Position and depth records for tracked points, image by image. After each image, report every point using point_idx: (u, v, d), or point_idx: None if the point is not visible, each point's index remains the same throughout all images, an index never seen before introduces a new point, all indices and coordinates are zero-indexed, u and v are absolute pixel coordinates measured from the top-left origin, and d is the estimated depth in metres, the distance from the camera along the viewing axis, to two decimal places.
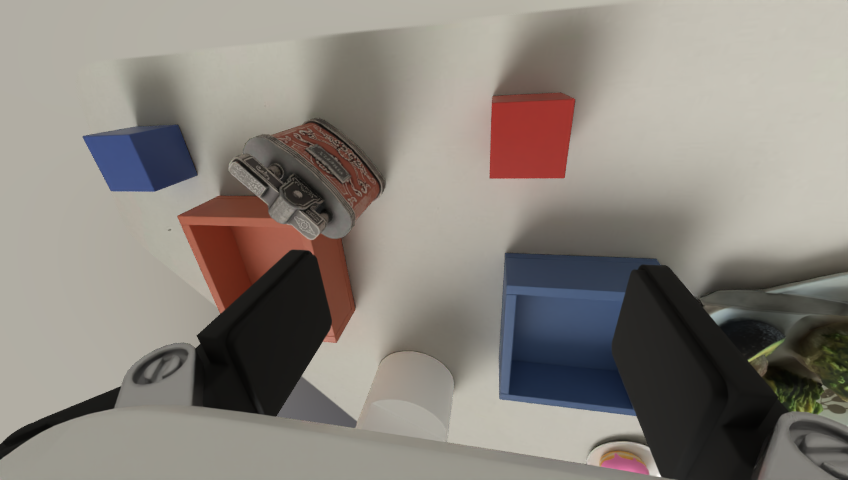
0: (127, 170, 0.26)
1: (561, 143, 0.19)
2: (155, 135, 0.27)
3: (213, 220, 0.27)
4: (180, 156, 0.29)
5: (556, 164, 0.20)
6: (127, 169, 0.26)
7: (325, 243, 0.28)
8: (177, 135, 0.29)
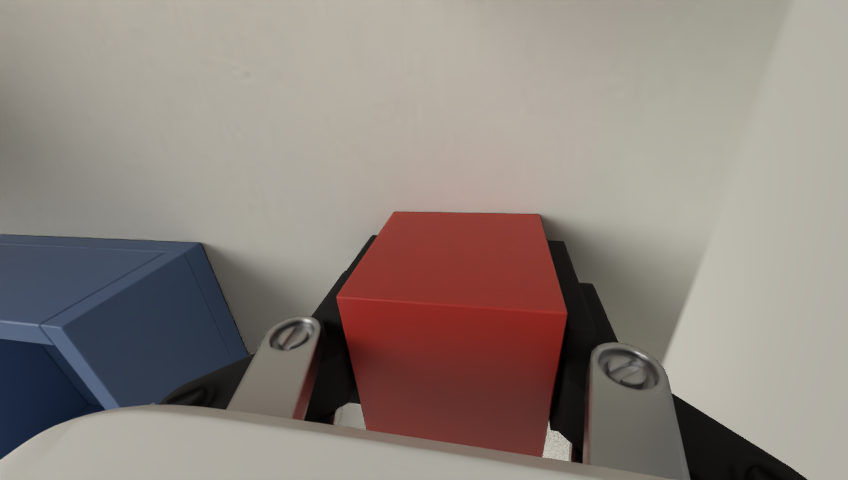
0: None
1: (443, 433, 0.08)
2: None
3: None
4: None
5: (394, 423, 0.08)
6: None
7: None
8: None
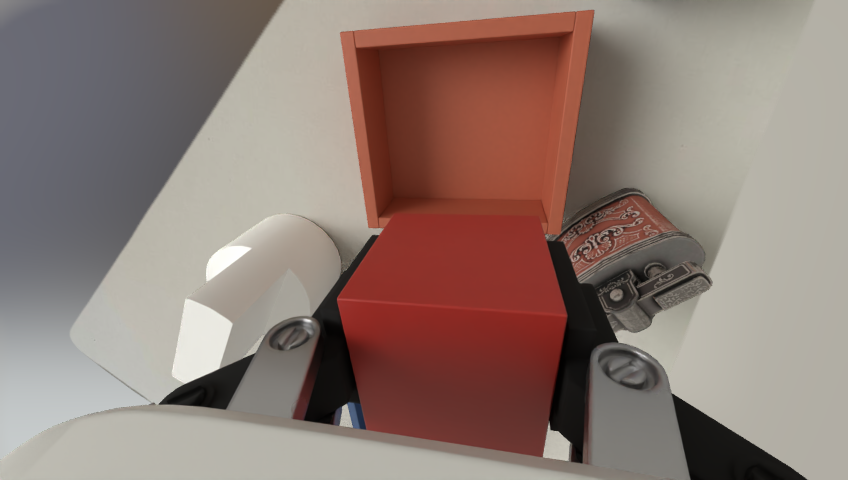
0: None
1: (443, 434, 0.08)
2: None
3: (575, 90, 0.17)
4: None
5: (395, 424, 0.08)
6: None
7: None
8: None
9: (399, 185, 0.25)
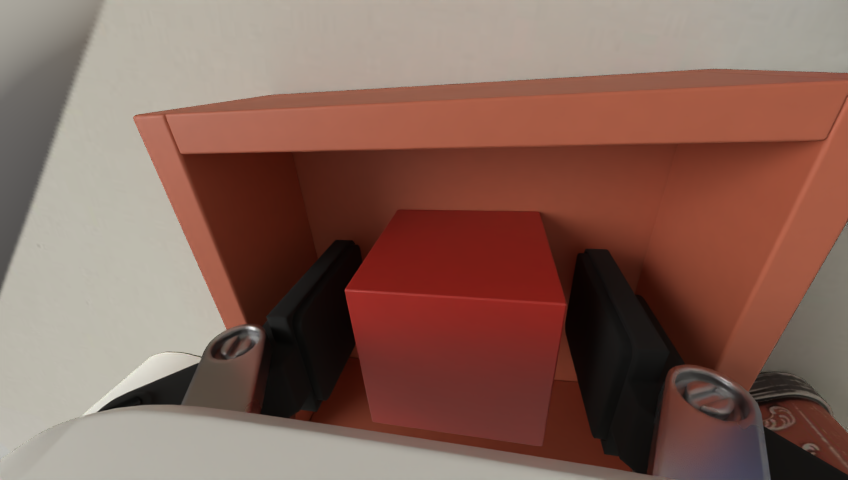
0: None
1: (447, 423, 0.09)
2: None
3: (785, 290, 0.06)
4: None
5: (400, 413, 0.09)
6: None
7: None
8: None
9: None
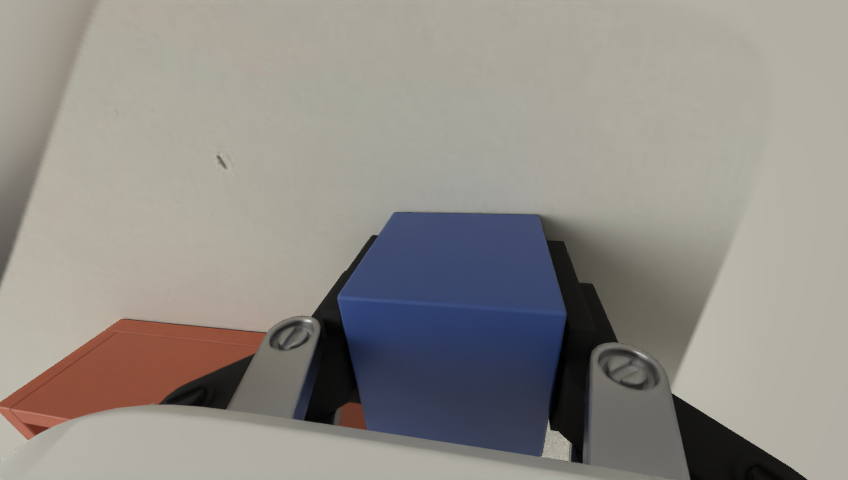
0: (428, 398, 0.08)
1: None
2: None
3: None
4: None
5: None
6: (431, 398, 0.08)
7: None
8: None
9: None
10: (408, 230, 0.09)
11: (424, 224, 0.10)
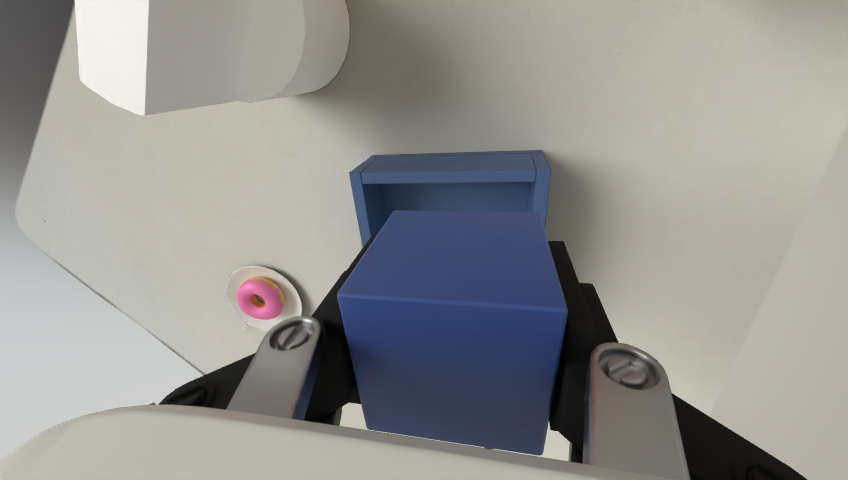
0: (428, 396, 0.08)
1: None
2: None
3: None
4: None
5: None
6: (432, 397, 0.08)
7: None
8: None
9: None
10: (408, 227, 0.09)
11: (424, 222, 0.10)
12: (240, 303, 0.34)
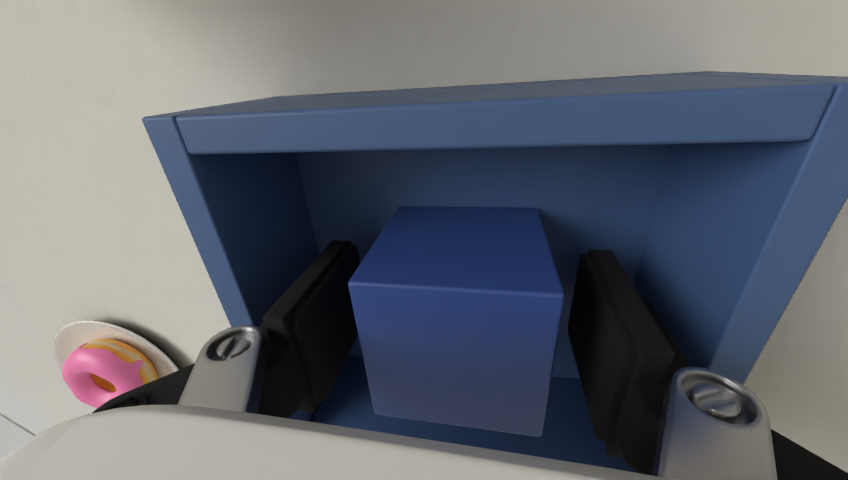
0: (433, 380, 0.08)
1: None
2: None
3: None
4: None
5: None
6: (437, 381, 0.08)
7: None
8: None
9: None
10: (413, 222, 0.10)
11: (428, 217, 0.10)
12: (70, 387, 0.19)
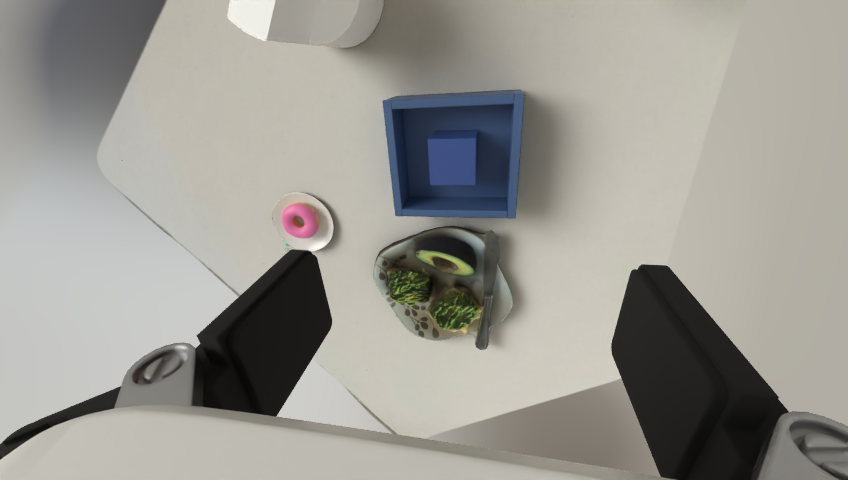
0: (447, 168, 0.32)
1: None
2: None
3: None
4: None
5: None
6: (448, 168, 0.32)
7: None
8: None
9: None
10: (440, 132, 0.33)
11: (445, 132, 0.34)
12: (285, 223, 0.42)
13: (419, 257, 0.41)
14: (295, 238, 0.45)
